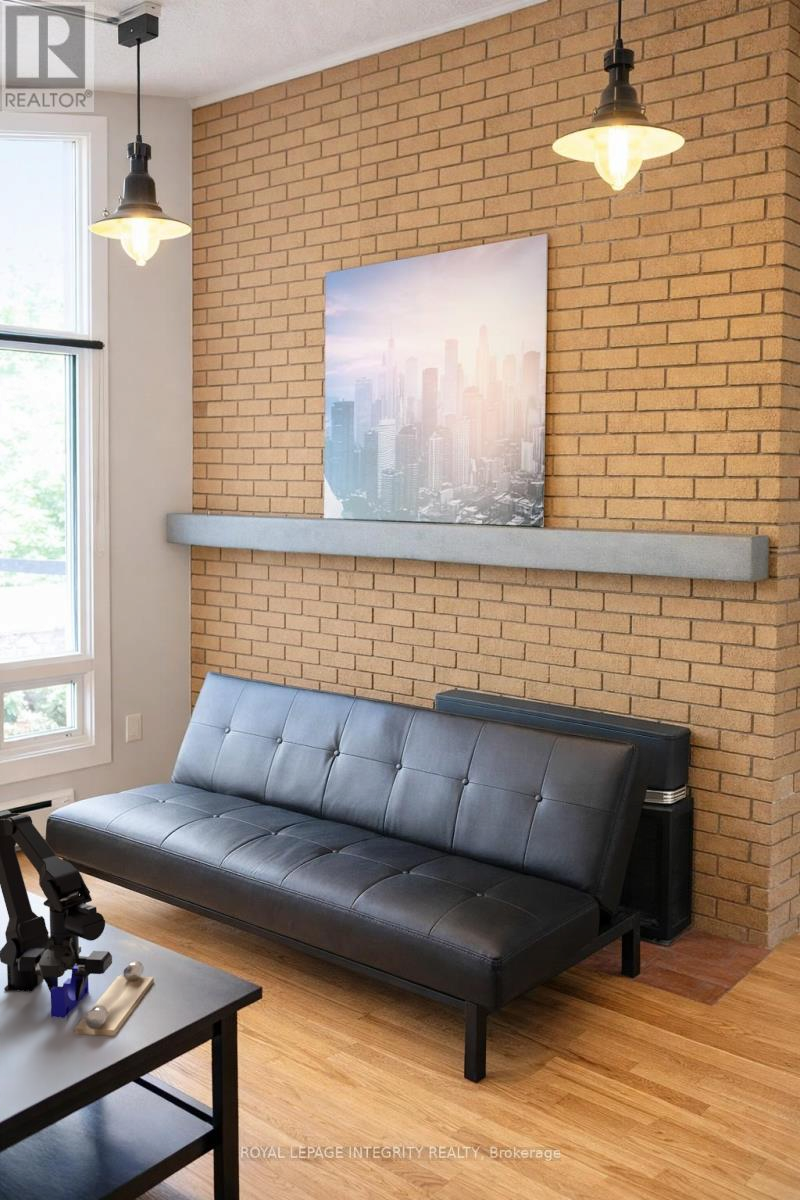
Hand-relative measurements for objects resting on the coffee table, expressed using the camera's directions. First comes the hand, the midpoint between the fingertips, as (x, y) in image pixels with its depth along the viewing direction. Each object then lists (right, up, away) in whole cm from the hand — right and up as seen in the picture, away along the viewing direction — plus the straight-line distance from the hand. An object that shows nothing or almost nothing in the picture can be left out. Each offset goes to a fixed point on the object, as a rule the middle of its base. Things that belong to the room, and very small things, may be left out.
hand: (66, 999), depth 240 cm
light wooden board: (+11, -1, -1) cm, 11 cm away
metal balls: (+11, 0, -1) cm, 11 cm away
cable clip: (0, -1, 0) cm, 1 cm away
